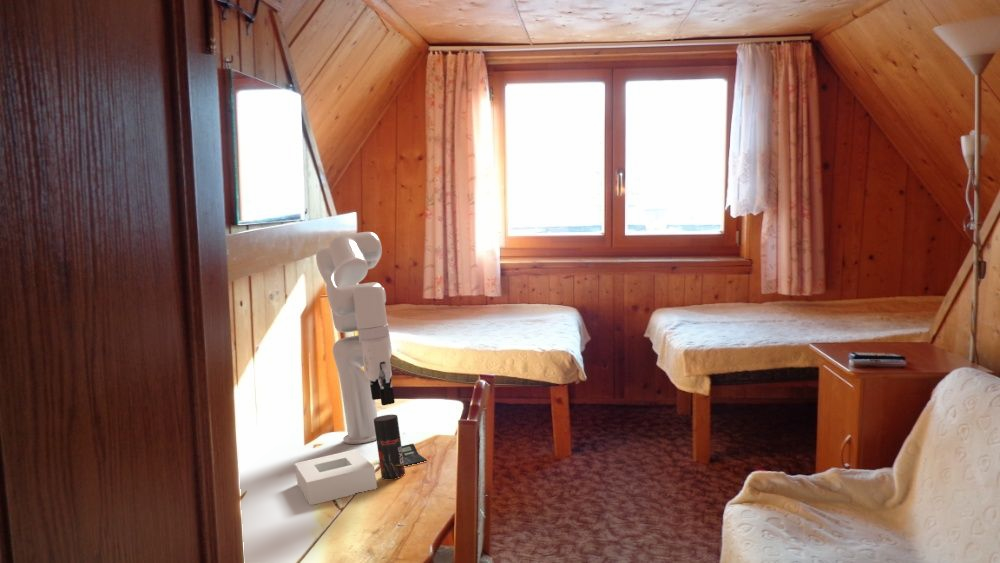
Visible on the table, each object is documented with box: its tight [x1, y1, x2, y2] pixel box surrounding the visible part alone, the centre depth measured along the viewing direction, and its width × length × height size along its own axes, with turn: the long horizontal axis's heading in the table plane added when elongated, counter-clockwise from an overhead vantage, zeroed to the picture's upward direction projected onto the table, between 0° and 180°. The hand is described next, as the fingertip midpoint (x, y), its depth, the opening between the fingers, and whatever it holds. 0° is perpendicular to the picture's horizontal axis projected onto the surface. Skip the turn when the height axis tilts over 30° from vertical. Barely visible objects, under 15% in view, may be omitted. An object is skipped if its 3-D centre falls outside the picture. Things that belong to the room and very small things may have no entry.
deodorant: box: [374, 414, 406, 480], centre depth 196 cm, size 6×6×15 cm
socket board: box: [293, 448, 378, 506], centre depth 193 cm, size 20×16×6 cm
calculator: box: [401, 443, 428, 466], centre depth 208 cm, size 9×12×3 cm
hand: (383, 401), depth 195 cm, fingers open, 9 cm apart
